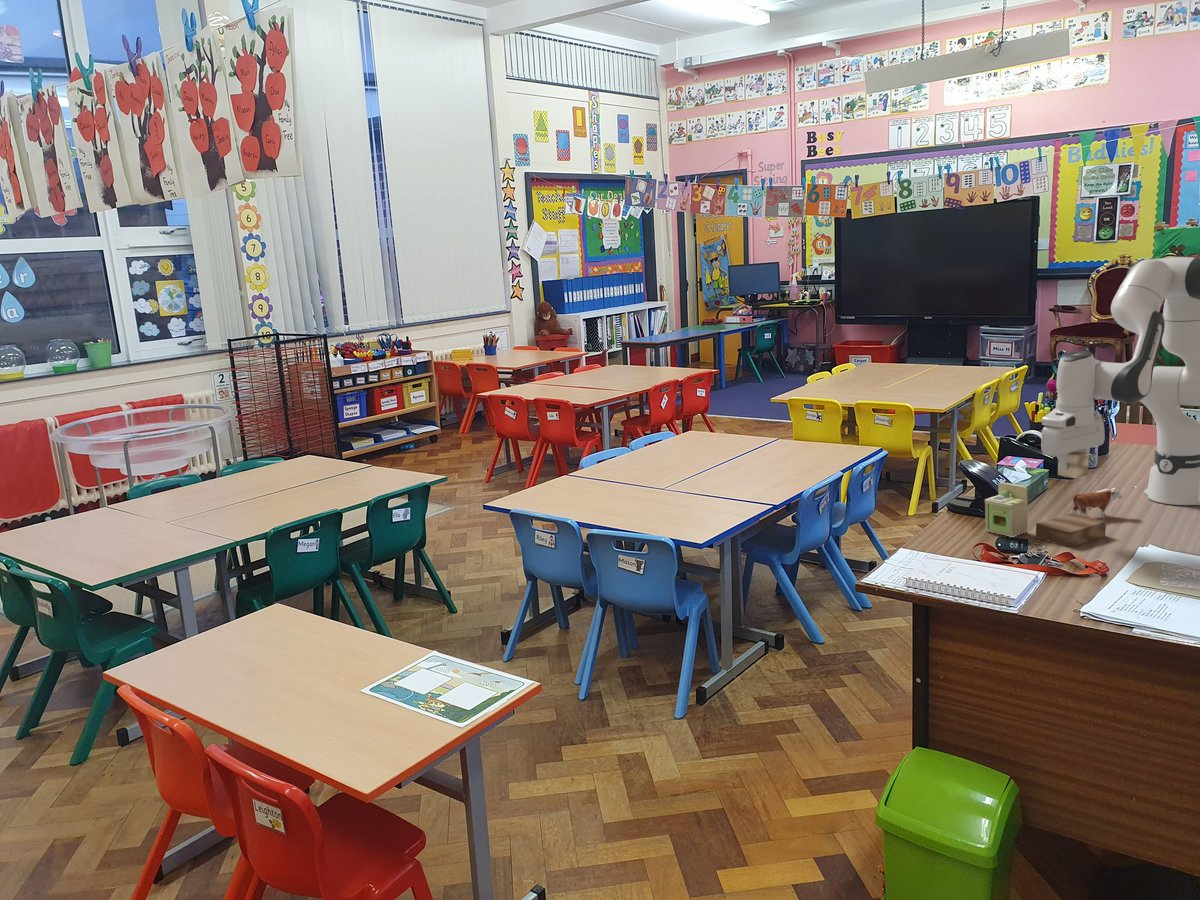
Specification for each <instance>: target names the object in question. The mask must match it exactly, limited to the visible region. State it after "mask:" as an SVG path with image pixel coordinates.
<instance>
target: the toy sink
mask: <svg viewBox="0 0 1200 900" xmlns="http://www.w3.org/2000/svg"><path fill="white" fill-rule="evenodd" d="M997 487H998V490H997V491H998V492H997V493H998V494H997V495H995V496H991V497H988V498H985V499H984V508H985V509H984V512H985V513H984V515H985V517H984V519H985V521H984V523H985V532H986V533H989V532H991V533H990V534H993V533H996V534H995V535H998V534H1004V535H1010V536H1015V535H1018V534H1022V535H1024V534H1026V533H1025V532H1027V533H1028V488H1027V486H1025V485H1020V484H1015V483H1009V482H1003V481H1002V482H999V483H998V486H997ZM1023 533H1024V534H1023Z"/></svg>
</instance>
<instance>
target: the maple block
mask: <svg viewBox="0 0 1200 900" xmlns="http://www.w3.org/2000/svg"><path fill="white" fill-rule="evenodd" d="M1089 456H1090V452H1089V453H1088V452H1082V451H1075V452H1071V453H1068V456H1067V457H1066V459H1067V462H1068V463H1070V465H1069V467H1070V468H1069V469H1066V470H1062V469H1060V462H1059V460H1058V459H1057V460H1058V462H1057V476H1062V477H1066V478H1072V479H1078V478H1081V477H1085V476H1089V458H1090V457H1089Z"/></svg>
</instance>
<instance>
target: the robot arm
mask: <svg viewBox="0 0 1200 900" xmlns="http://www.w3.org/2000/svg"><path fill="white" fill-rule="evenodd" d="M1162 305H1163V310H1162V311H1163V312H1162V313H1160V311H1161V307H1162ZM1110 314H1111V316H1112V318H1113V320H1114V321H1115V322H1116V323H1117V324H1118V325H1119V326H1120V327H1122V328H1123V329H1125V330H1126V331H1129V332H1131V333H1134V334H1136V335H1138V338H1137V342H1136V345H1135V348H1134V352H1133V355H1132V358H1131V359H1130V360H1129V361H1126V362H1112V361H1111V362H1110V361H1109V362H1107V361H1101V360H1100V359H1099V360H1098V359H1096V358H1095V357H1094V354H1093V353H1092V352H1090V351H1084V350H1081V351H1079V350H1078V351H1072V352H1068V353H1065V354H1064V355H1062V356H1061V357H1060V359H1059V362H1058V367H1057V373H1056V386H1055V387H1056V392H1057V398H1056V401H1055V408H1053V409H1052V410H1051V411H1049V413H1047V414H1046V415H1044V416H1043V417H1042V418H1041V425H1042V426H1044V427H1043V428H1042V430H1041V439H1040V441H1041V443H1040V446H1041V447H1040V448H1041V452H1042V454H1043V455H1044V456H1049V457H1056V458H1057V460H1059V462H1060V469H1062V470H1066V469H1069V468H1070V467H1069V465H1070V463H1068V462H1067V459H1066V457H1067V456H1068V453H1071V452H1075V451H1082V452H1088V453H1089V454H1090V452H1091V451H1090V450H1091V448H1095V447H1099V446H1102V445H1104V442H1105V437H1106V435H1105V432H1106V431H1105V422H1104V420H1103V417H1102V416H1103V415H1102V413H1100V411H1099V410H1095V400H1094V399H1099V400H1109V401H1116V402H1119V403H1124V404H1129V405H1130V404H1131V405H1133V404H1136V403H1138V402H1139V403H1142V404H1143V405H1144V406H1145V407H1146V408H1147V409H1148V411H1149V413H1150V414H1151V415H1152V418H1153V419H1154V422H1155V424H1156V450H1155V451H1154V455H1153V457H1154V459H1153V460H1154V465H1153V466H1151V468H1150V471H1149V478H1148V479H1149V480H1148V485H1147V488H1145V489H1144V492H1143V494H1145V495H1147V498H1148V499H1149V500H1151V501H1154V502H1157V503H1160V504H1167V505H1176V506H1200V422H1199V421H1198V420H1197V419H1195V418H1193V417H1191V416H1189V415H1187V414H1185V413H1184V412H1183V411H1182V409H1181V406H1189V407H1190V406H1193V407H1200V256H1196V257H1191V256H1171V257H1162V258H1161V257H1160V258H1146V259H1140V260H1138V261H1136V262H1134V263H1133V264H1132V265H1131V266H1130V267H1129V268H1128V270H1127V273H1126V275H1125V278H1123V281H1122V283H1121V284H1120V285H1119V287H1118V289H1117V291H1116V293H1115V295H1114V297H1113V299H1112V301H1111V304H1110ZM1161 344H1162V347H1163V349H1165V350H1166V351H1167V352H1168V353H1169V354H1172V355H1174V356H1177V357H1179V358H1180V359H1181V360H1182V361H1183V363H1184V364H1185V366H1173V365H1172V366H1165V365H1157V366H1155V365H1156V361H1157V358H1158V355H1159V350H1160V347H1161Z"/></svg>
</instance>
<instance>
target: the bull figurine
mask: <svg viewBox="0 0 1200 900" xmlns="http://www.w3.org/2000/svg"><path fill="white" fill-rule="evenodd" d="M1123 497H1124V496H1123V495H1122V493H1121V492H1120V490H1119V489H1117V488H1116V487H1112V488H1111V489H1110V488H1103V489H1101V490H1097V491H1094V492H1093V491H1092V492H1085V493H1083V492H1082V493H1077V494H1075V495H1073V497H1072V503H1073V505H1074V506H1073V508H1072V510H1073V514H1077V515H1081V516H1085V517H1089V518H1091V517H1090V516H1089V515H1088V513H1087V509H1088V510H1089V511H1091V510H1092V509H1096V508H1098V509H1099V516H1100V517H1101V518H1105V511H1106V509H1107V507H1108V506H1109V505H1110V504H1111V503H1112V502H1113V501H1115V500H1117V499H1123Z"/></svg>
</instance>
